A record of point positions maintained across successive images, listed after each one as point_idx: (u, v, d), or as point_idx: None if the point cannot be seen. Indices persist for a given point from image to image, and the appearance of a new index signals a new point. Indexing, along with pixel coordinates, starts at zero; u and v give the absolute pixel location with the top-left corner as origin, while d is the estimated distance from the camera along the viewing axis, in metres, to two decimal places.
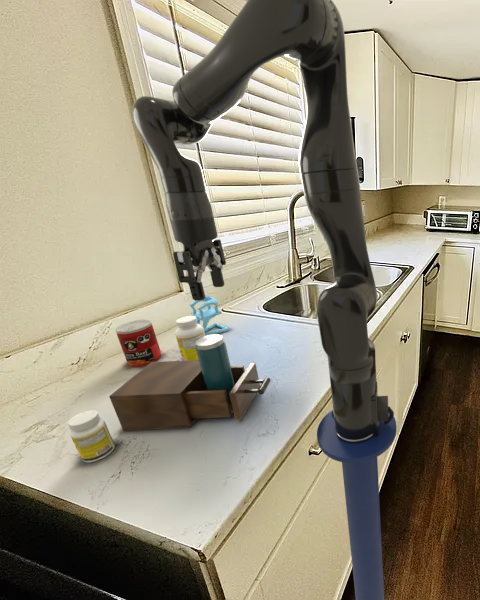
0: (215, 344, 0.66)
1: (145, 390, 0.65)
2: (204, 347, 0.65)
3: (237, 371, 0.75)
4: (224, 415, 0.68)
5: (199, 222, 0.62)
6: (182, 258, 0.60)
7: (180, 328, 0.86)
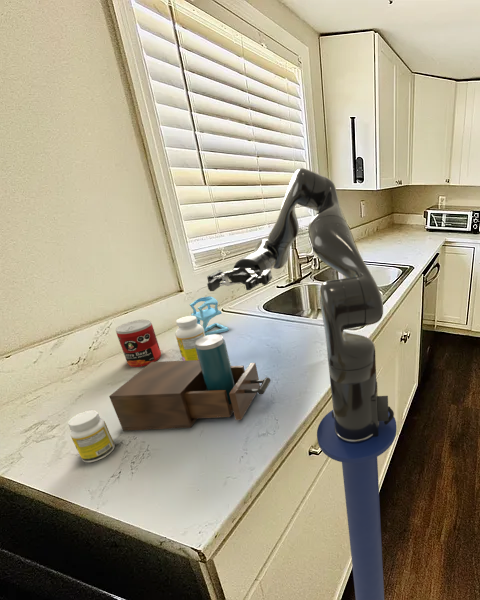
0: (215, 344, 0.66)
1: (145, 390, 0.65)
2: (204, 347, 0.65)
3: (237, 371, 0.75)
4: (224, 415, 0.68)
5: None
6: None
7: (180, 328, 0.86)
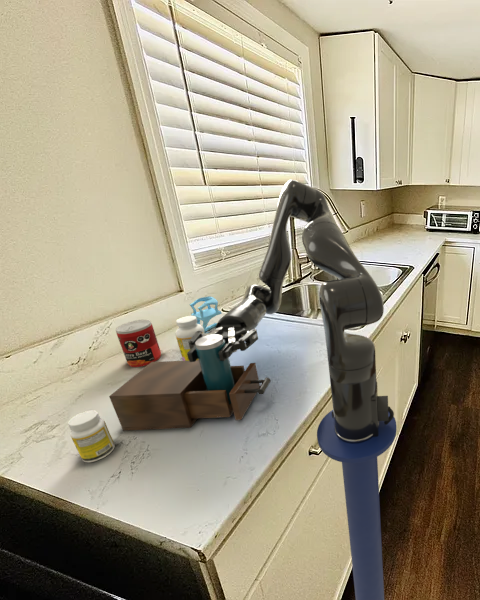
0: (215, 344, 0.66)
1: (145, 390, 0.65)
2: (204, 347, 0.65)
3: (237, 371, 0.75)
4: (224, 415, 0.68)
5: None
6: None
7: (180, 328, 0.86)
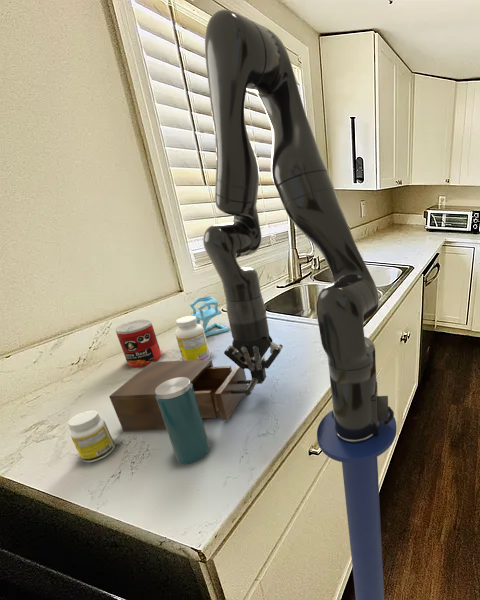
0: (179, 392, 0.55)
1: (145, 390, 0.65)
2: (165, 396, 0.54)
3: (224, 371, 0.75)
4: (210, 416, 0.68)
5: (230, 325, 0.69)
6: None
7: (180, 328, 0.86)
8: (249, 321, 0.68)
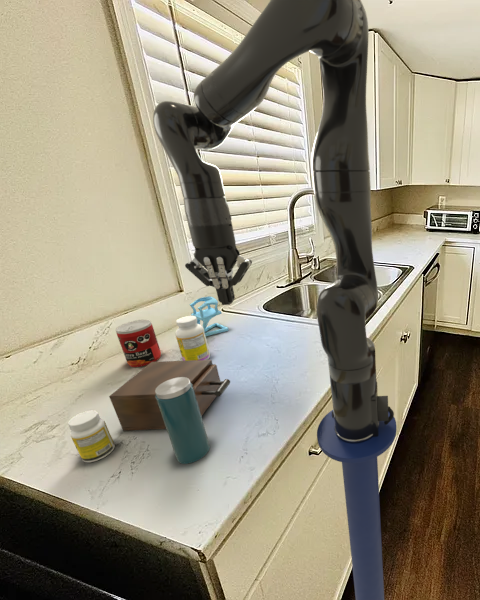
0: (179, 392, 0.55)
1: (145, 390, 0.65)
2: (165, 396, 0.54)
3: None
4: None
5: (190, 228, 0.61)
6: None
7: (180, 328, 0.86)
8: (210, 223, 0.61)
